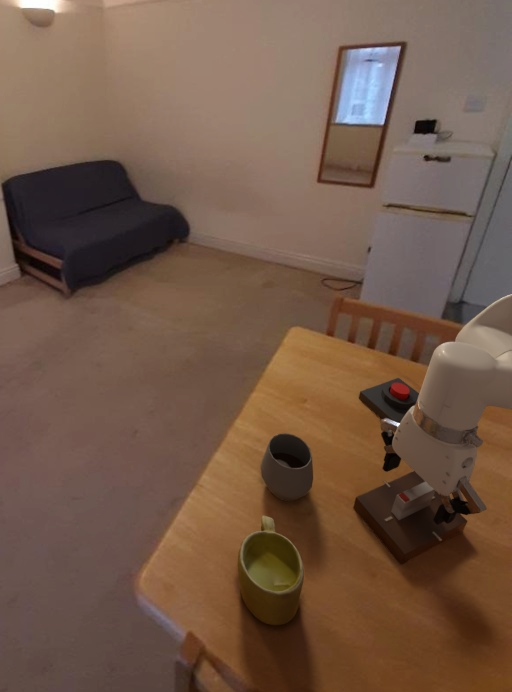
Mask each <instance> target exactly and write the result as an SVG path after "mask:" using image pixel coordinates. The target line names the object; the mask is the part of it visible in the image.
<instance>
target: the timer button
mask: <svg viewBox="0 0 512 692" xmlns="http://www.w3.org/2000/svg"><path fill="white" fill-rule="evenodd" d="M409 392H410V390H409V388H408V387H407V386H406V385H404V384H401V383H393V384H392V386H391V389H390V393H391V395H392V396H393V397H395V398H398V399H400V400H405V399H407V398H408V395H409Z"/></svg>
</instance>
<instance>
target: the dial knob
mask: <svg viewBox="0 0 512 692" xmlns="http://www.w3.org/2000/svg"><path fill="white" fill-rule="evenodd" d="M434 492H435V490H434V489H433V488H432V487H431V486H430V485H429V484H428V483H426V482H424V483H421V484H419V485H417V486H415V487H413V488H411V489H409V490H406V491H404V492H402V493H400V494H398V495H397V496H396V499H395V502H394V505H393V508H392V511H391V512H392V513H393V514H394V515H395V516H396V518H397V519H398V520H401V519H403V518H405V517H407V516H409V515H411V514H413V513H415V512H417V511H419V510H421V509H423V508H425V507H427V506H429V505H430V502H431V500H432V497H433V495H434Z"/></svg>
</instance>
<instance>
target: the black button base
mask: <svg viewBox="0 0 512 692" xmlns="http://www.w3.org/2000/svg"><path fill="white" fill-rule="evenodd" d="M393 383H401V384H404V385H406V386H407V387H408V388H409V390H410V392H409V395H408V398H407V399H405V400H400V399H398V398H395V397H393V396H392V395H391V393H390V389H391V386H392V384H393ZM419 393H420V392H418V391H417V390H416V389H415V388H413V387H411V386H410V385H409V384H408V383H406V381H404V380H403V379H401V378H400V377H397V378H394V379H391V380H388V381H385V382H382V383H380V384H377V385H374V386H372V387H371V386H370V387H368V388H365V389H363V390H360V391H359V394H358V399H359V400H360V401H361V402H362V403H363V404H365V405H366V406H367V407H368V408H369V409H370V410H371V411H372V412H374V413H375V414H376V415H377V416H378V417H379V418H380V419H381V420H382V419H385V418H387V419H390V420H393V421H395V422H398V423H400V422H401V420H402V419H403V417H404V416H405V414H406V413H407V412H408V410H409V409H410V408H411V407H412V406H414V405H416V402H417V399H418V396H419Z"/></svg>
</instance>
